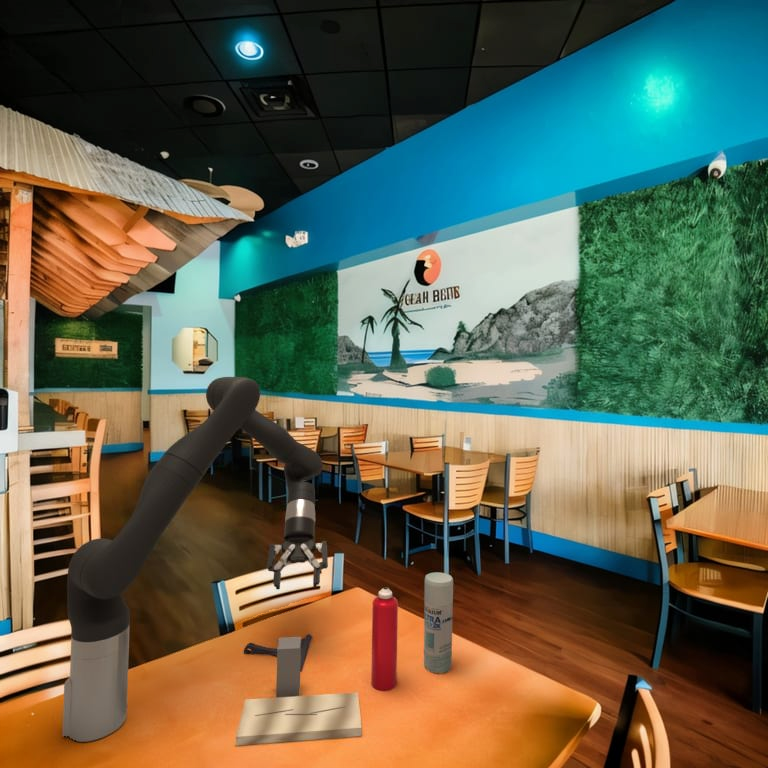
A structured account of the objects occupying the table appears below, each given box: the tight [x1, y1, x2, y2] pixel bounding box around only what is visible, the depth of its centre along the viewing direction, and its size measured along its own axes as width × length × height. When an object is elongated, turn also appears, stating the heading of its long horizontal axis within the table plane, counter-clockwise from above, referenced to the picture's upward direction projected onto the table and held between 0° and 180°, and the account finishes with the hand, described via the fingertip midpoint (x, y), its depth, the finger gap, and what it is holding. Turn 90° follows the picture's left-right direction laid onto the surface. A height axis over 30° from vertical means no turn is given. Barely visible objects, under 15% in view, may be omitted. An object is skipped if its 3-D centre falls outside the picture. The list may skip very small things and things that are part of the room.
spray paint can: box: [423, 571, 454, 674], centre depth 106 cm, size 6×6×20 cm
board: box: [235, 691, 363, 747], centre depth 87 cm, size 22×10×2 cm, turn 97°
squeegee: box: [243, 633, 313, 673], centre depth 110 cm, size 14×15×3 cm
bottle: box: [370, 586, 399, 692], centre depth 100 cm, size 5×5×20 cm
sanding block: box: [275, 636, 302, 698], centre depth 96 cm, size 5×5×10 cm
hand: (296, 587), depth 108 cm, fingers open, 8 cm apart
